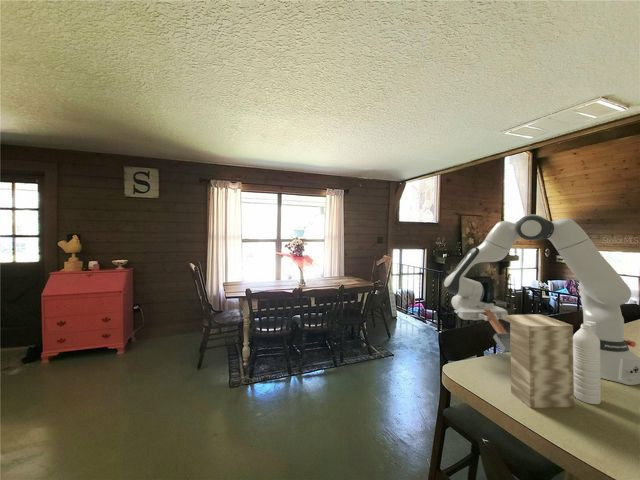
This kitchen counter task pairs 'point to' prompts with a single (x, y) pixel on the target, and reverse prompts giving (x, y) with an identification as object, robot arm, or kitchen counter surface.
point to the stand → (541, 360)
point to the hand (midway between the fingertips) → (492, 318)
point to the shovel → (499, 332)
